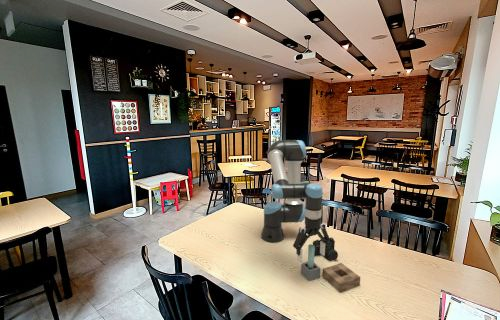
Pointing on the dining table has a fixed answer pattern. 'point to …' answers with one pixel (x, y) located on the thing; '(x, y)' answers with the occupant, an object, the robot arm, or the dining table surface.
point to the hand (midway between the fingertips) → (311, 257)
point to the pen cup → (310, 272)
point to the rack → (341, 277)
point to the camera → (326, 249)
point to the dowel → (311, 256)
